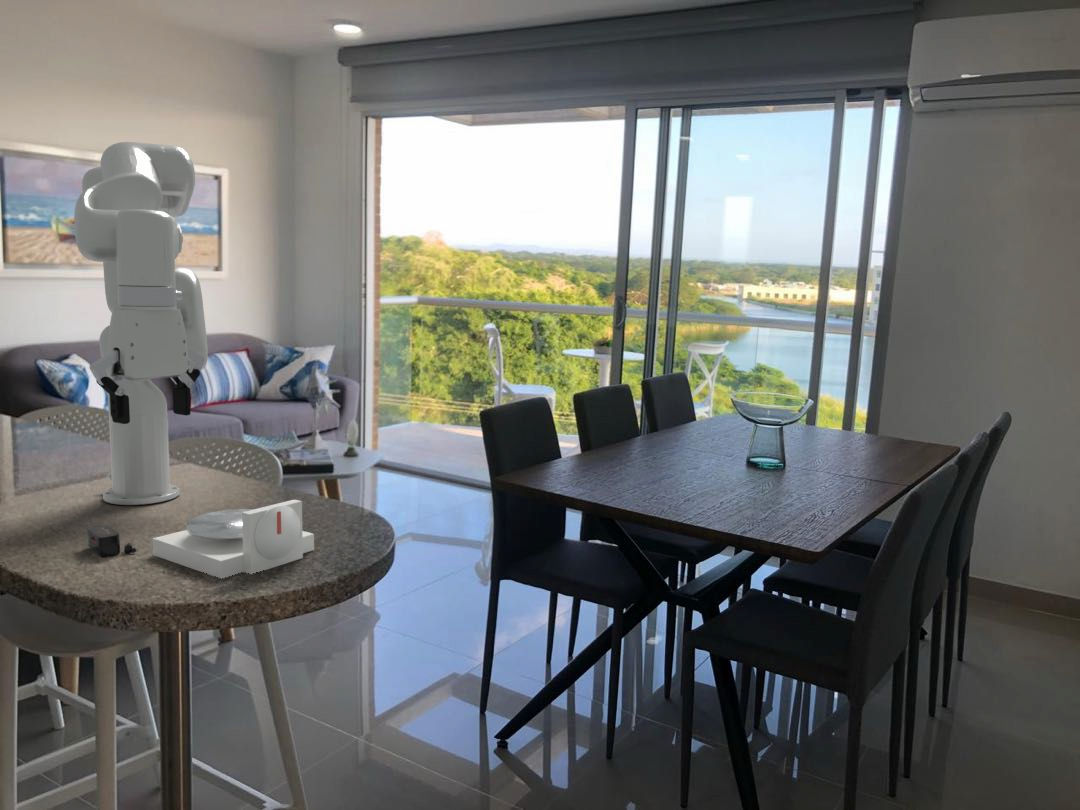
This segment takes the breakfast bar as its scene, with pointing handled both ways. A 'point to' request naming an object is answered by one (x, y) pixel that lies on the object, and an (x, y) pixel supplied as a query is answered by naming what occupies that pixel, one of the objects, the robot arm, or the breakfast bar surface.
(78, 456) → the breakfast bar surface
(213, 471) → the breakfast bar surface
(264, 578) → the breakfast bar surface
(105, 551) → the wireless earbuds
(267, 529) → the kitchen scale
